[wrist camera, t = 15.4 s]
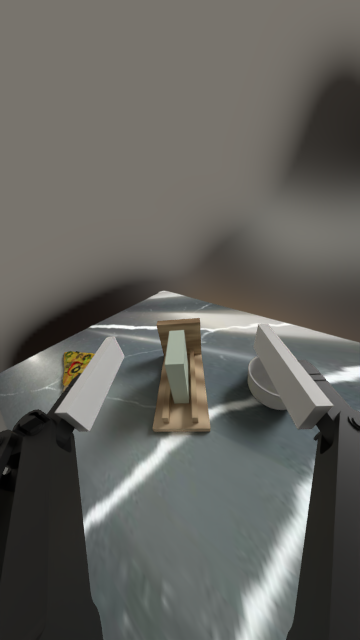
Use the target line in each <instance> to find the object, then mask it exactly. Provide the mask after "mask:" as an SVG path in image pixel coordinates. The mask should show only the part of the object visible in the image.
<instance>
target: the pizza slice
mask: <svg viewBox="0 0 360 640" xmlns="http://www.w3.org/2000/svg"><path fill="white" fill-rule="evenodd" d="M94 355H95V354H92V353H80V352H77V351H76V352H72V351H69V352H65V353H64V377H63V385H64V389H63V392H64V390H65V389H66V388H67V387H68V385H69V383H70V382H71V381H72V379H73V378H74V377H75V376H77V375H78V374H79V373H82V372H83V371H84V369H85V368H86V367H87V365H88V364H89V362H90V361H91V359H92V358H93V356H94Z"/></svg>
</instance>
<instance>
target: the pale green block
mask: <svg viewBox="0 0 360 640" xmlns="http://www.w3.org/2000/svg"><path fill="white" fill-rule="evenodd" d="M165 369H166V373H167V376H168V380H169V384H170V388H171V392H172V396H173V400H174V404H178V403H189V371H188V360H187V351H186V343H185V334H184V330H177V331H169V338H168V345H167V351H166V358H165Z"/></svg>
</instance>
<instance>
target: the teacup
mask: <svg viewBox="0 0 360 640" xmlns="http://www.w3.org/2000/svg"><path fill="white" fill-rule="evenodd" d="M248 386H249V389H250V391H251V393H252V394H253V396H254V397H255V398H256V399H257V400H258V401H259V402H261V403H262V404H263V405H265V406H267V407H269V408H272V409H276V410H287V409H286V407H285V405H284V403H283V401H282V399H281V397H280V396H279V394H278V392H277V390H276V388H275V386H274V384H273V383H272V381H271V379H270V377H269V375H268V373H267V371H266V370H265V368H264V366H263V364H262V362H261V360H260V358H259V357H258V356H256V357H254V358H253V359H252V360H251V361H250V363H249V366H248Z"/></svg>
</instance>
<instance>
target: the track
mask: <svg viewBox="0 0 360 640" xmlns="http://www.w3.org/2000/svg"><path fill="white" fill-rule="evenodd" d="M157 329H158V333H159V337H160V341H161V345H162V349H163V353H164V361H163V367H162V373H161V379H160V386H159V392H158V398H157V404H156V411H155V417H154V423H153V431H154V432H205V431H210V422H209V414H208V405H207V397H206V389H205V381H204V372H203V364H202V356H201V334H200V318H194V319H180V320H167V321H158V322H157ZM177 330H184V334H185V343H186V351H187V360H188V371H189V403H178V404H174V400H173V396H172V392H171V388H170V384H169V380H168V376H167V373H166V369H165V358H166V351H167V345H168V338H169V331H177Z"/></svg>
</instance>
